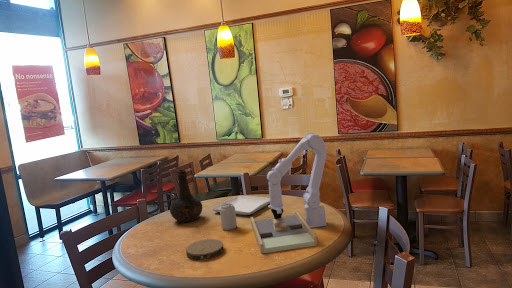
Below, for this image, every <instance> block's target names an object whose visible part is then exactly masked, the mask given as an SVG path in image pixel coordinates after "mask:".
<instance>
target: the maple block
mask: <svg viewBox="0 0 512 288" xmlns="http://www.w3.org/2000/svg"><path fill="white" fill-rule="evenodd" d="M273 226H274V229H275V231H280V230H286V225H285V220H284V218H279V219H273Z"/></svg>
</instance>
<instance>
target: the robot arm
mask: <svg viewBox="0 0 512 288" xmlns="http://www.w3.org/2000/svg"><path fill="white" fill-rule="evenodd" d="M324 141H325V140H324V139H323V138H322V137H321V136H320V135H319V134H315V133H314V132H308V133H306V134H305V135H304V137H302V138H301V140H300V141H299V142H298V143H297V144H296V146H295V147H294V148H293V149H292V150H291V152H290V153H289V154H288V155H287V157H282V158H281V159H278V163H277V164H276V165H275V166H274V167H272V168H271V170H270V171H269V172H267V174H266V179H267V181H268V194H269V198H270V203H269V204H268V205H267V207H268V208H269V209H270V211H271V213H272V215H273V218H274V219H279V218H281V217H283V213H284V209H283V207H284V204H283V195H282V187H281V181H282V177H284V176H285V175H286V174H287V173H288V171H290V169H291V168H292V165H293V164H292V163H293V162H294V161H295V160H296V159H297V158H298V157H299V156H300V155H301V154H302V153H303V152H304V151H309V150H311V151H313V153H314V154H315V155H314V159H313V165H312V169H311V174H310V177H309V183H308V186H307V187H306V189H305V192H304V193H303V195H302V201H303V202H304V207H303V208H304V217H305V219H304V220H305V222H306V223H307V224H308V226H309V227H310V228H311V229H312V228H318V227H319V228H320V227H325V226H328V225H327V216H326V209H325V206H324V205H321V198H320V196H321V193H320V192H321V191H320V188H321V187H320V186H321V183H322V178H323V173H324V168H325V163H326V160H327V155H328V151H327V148H326V146H325V142H324Z"/></svg>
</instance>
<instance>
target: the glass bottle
mask: <svg viewBox="0 0 512 288" xmlns="http://www.w3.org/2000/svg"><path fill="white" fill-rule="evenodd" d="M176 172H177V173H176V176H177V177H178V189H179V190H178V191H179V192H178V193H179V194H178V197H176V198H175V199H173V200H172V202H171V204H170V205H169V212H170V215H171V216H172V218H173V219H174V220H175V221H177V222H178V223H179V222H180V223H189V222H192V221H194V220H197V219H198V218H199V217H200V216H201V214H202V212H203V203H202V202H201V200H200V199H199V198H197V197H195V196H193V195H192V193H191V189H190V187H189V181H188V174H189V173H188V172H187V171H186V169H180V170H177V171H176Z"/></svg>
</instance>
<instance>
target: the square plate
mask: <svg viewBox="0 0 512 288" xmlns="http://www.w3.org/2000/svg"><path fill="white" fill-rule="evenodd" d="M223 204H233V206H234V207H235V214H236V215H240V216H241V215H242V216H249V215H252V214H254V213H256V212H257V211H259V210H261V209H262V208H265V207H266V206H268V205H270V197H266V196H265V197H264V196H254V195H253V196H250V195H248V196H247V195H237V196H234V197H232V198H229V199H226V200H225V201H223V202H221V203H219V204H217V205H215V206H213V207H211V210H212V211H214V212H217V213H220V208H221V205H223Z"/></svg>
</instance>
